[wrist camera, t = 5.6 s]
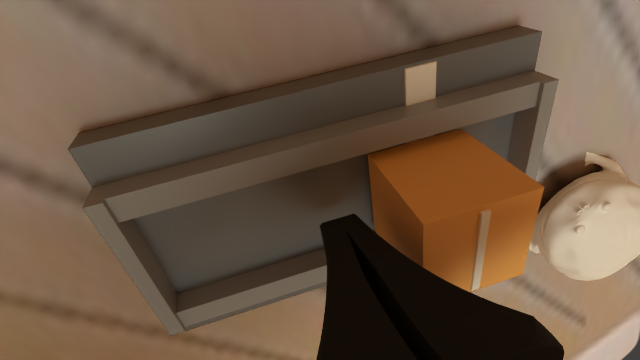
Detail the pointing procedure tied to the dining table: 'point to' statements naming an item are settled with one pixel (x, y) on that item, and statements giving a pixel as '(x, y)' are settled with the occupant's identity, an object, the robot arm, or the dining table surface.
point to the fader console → (292, 168)
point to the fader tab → (455, 208)
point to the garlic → (591, 224)
